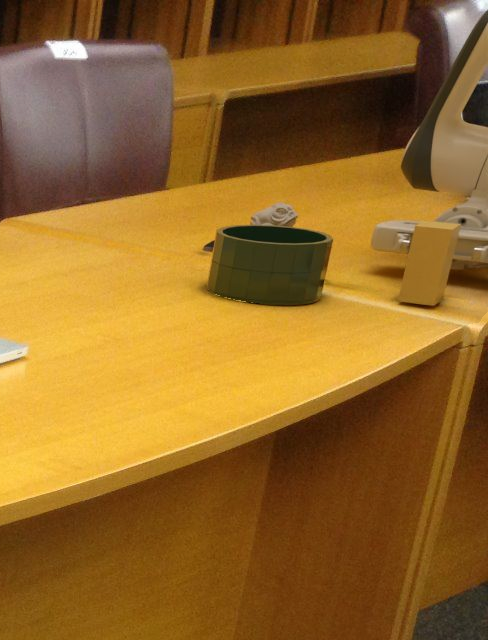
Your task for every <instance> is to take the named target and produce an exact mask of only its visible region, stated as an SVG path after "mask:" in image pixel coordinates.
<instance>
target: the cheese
mask: <svg viewBox="0 0 488 640" xmlns="http://www.w3.org/2000/svg"><path fill="white" fill-rule="evenodd" d="M420 222H421V223H419V224H417V225H416V226H415V229H414V233H413V238H412V242H411V246H410V250H409V254H407V259H406V264H405V267H404V273H403V277H402V280H401V285H400V289H399V294H398V297H397V302H401V303H407V304H414V305H415V304H416V305H424V306H432V307H434V306H436V305H437V304H439V303H440V302H441V301H442V300H443V299H444V295H445V293H446V288H447V285H448V284H447V283H448V281H449V275H450V272H451V269H450V268H451V264H452V260H453V255H454V251H455V247H456V243H457V239H458V235H459V231H460V227H461V224H455V223H445V222H435V221H434V220H423V221H420ZM443 301H444V300H443Z"/></svg>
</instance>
